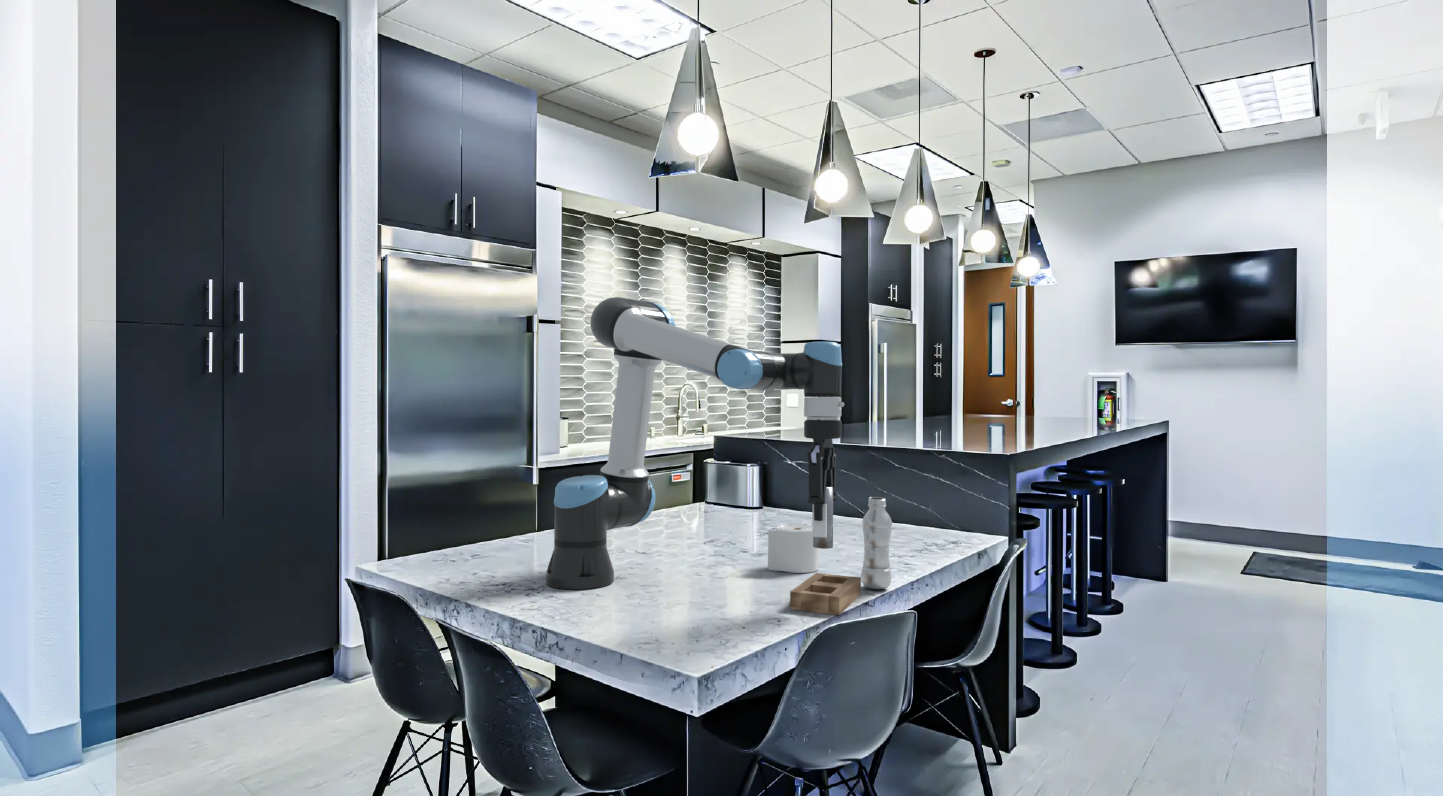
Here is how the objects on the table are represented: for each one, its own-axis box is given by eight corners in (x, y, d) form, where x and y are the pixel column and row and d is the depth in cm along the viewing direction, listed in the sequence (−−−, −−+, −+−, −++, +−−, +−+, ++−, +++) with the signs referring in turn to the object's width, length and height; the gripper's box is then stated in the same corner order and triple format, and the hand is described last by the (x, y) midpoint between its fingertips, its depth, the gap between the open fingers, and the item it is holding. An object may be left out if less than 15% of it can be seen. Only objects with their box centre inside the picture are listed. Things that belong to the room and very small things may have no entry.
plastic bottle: (871, 583, 176) (872, 495, 176) (897, 589, 172) (898, 498, 172) (854, 588, 172) (855, 497, 172) (880, 594, 167) (881, 501, 167)
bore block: (790, 609, 155) (790, 591, 155) (815, 588, 171) (816, 572, 171) (839, 615, 151) (839, 597, 151) (860, 593, 167) (860, 577, 167)
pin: (810, 547, 155) (810, 487, 155) (816, 544, 159) (816, 485, 159) (830, 549, 154) (830, 488, 154) (835, 545, 157) (835, 486, 158)
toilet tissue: (826, 567, 193) (826, 527, 193) (805, 576, 183) (806, 534, 183) (787, 562, 199) (787, 522, 198) (765, 571, 188) (765, 529, 188)
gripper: (829, 419, 147) (829, 543, 147) (851, 418, 163) (851, 529, 163) (791, 419, 150) (791, 540, 150) (816, 417, 166) (816, 527, 166)
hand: (822, 534), depth 156 cm, fingers closed on pin, 4 cm apart
